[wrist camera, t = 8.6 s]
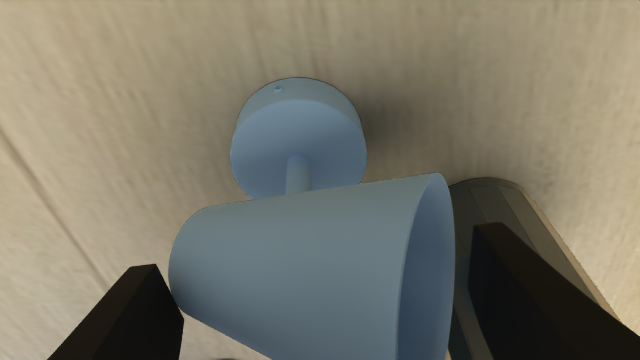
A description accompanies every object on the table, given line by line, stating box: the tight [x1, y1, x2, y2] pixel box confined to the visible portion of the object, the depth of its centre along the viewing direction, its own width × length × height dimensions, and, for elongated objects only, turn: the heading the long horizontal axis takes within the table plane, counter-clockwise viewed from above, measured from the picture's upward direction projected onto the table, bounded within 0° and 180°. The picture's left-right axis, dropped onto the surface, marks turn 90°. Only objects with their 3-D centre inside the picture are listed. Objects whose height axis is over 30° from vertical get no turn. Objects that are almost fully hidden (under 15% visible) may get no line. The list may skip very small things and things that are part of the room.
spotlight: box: [168, 78, 455, 360], centre depth 11 cm, size 5×10×7 cm
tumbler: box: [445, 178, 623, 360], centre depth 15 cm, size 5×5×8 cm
